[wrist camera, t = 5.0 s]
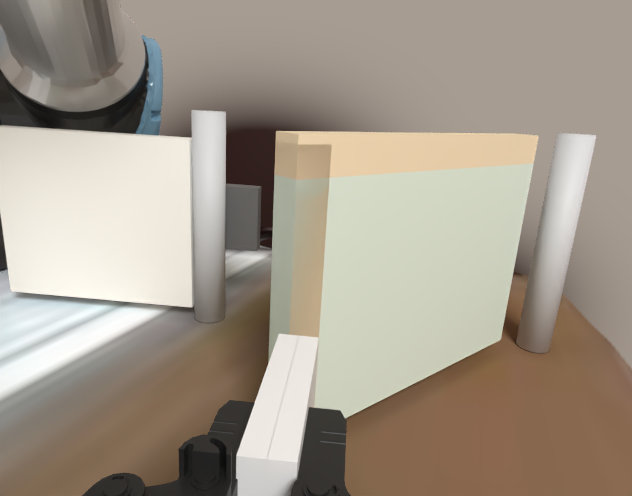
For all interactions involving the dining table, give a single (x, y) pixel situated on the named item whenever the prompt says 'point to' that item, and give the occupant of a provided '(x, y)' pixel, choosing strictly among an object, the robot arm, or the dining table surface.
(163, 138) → the fence
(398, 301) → the gate
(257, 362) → the dining table surface
